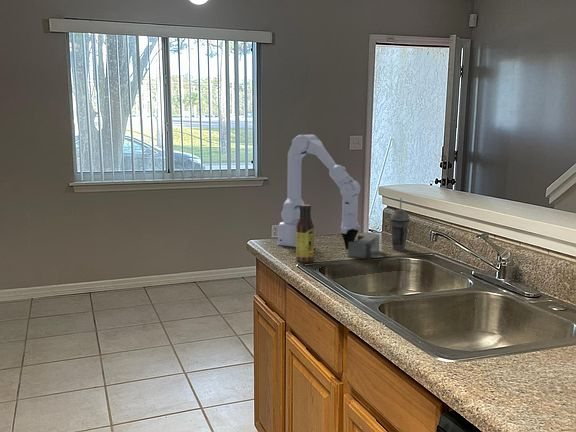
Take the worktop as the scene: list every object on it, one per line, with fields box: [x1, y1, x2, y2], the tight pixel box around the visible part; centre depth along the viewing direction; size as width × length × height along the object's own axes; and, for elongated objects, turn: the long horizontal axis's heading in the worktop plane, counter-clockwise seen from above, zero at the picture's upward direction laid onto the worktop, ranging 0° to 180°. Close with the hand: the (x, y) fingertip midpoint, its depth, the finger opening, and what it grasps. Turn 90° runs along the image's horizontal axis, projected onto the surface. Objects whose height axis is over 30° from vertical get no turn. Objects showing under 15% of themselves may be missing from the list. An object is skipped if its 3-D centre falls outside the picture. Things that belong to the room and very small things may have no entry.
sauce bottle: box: [295, 204, 315, 263], centre depth 195 cm, size 7×6×20 cm
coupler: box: [347, 233, 381, 260], centre depth 207 cm, size 8×13×6 cm, turn 156°
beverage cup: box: [389, 198, 410, 252], centre depth 214 cm, size 7×7×20 cm
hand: (349, 249), depth 210 cm, fingers closed
